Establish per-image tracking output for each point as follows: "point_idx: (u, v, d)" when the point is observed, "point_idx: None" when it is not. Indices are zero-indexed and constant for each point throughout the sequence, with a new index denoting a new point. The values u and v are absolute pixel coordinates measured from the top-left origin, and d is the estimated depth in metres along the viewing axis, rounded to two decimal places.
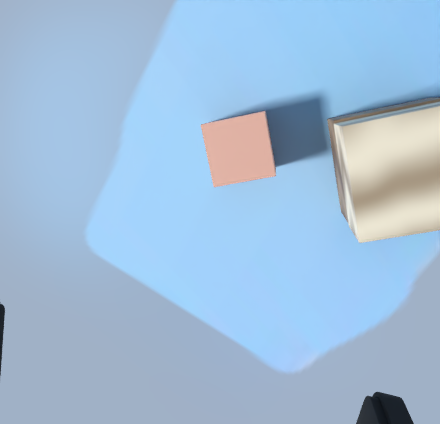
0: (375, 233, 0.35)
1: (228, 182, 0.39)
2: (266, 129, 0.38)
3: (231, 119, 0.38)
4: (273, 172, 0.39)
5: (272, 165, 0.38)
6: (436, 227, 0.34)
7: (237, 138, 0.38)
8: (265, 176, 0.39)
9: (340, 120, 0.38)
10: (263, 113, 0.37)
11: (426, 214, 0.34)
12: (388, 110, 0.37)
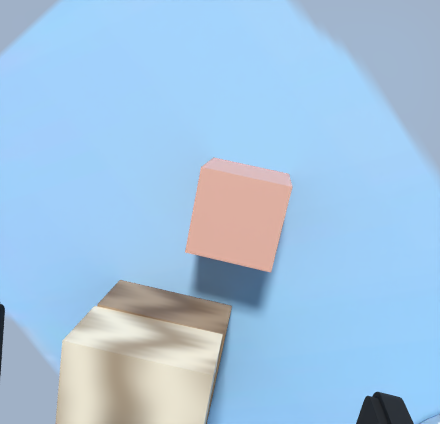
0: (69, 361, 0.27)
1: (199, 189, 0.27)
2: (247, 265, 0.28)
3: (280, 229, 0.27)
4: (190, 251, 0.28)
5: (199, 253, 0.28)
6: (59, 421, 0.28)
7: (251, 226, 0.27)
8: (189, 239, 0.28)
9: (222, 341, 0.31)
10: (269, 270, 0.28)
11: (77, 417, 0.28)
12: (212, 388, 0.32)
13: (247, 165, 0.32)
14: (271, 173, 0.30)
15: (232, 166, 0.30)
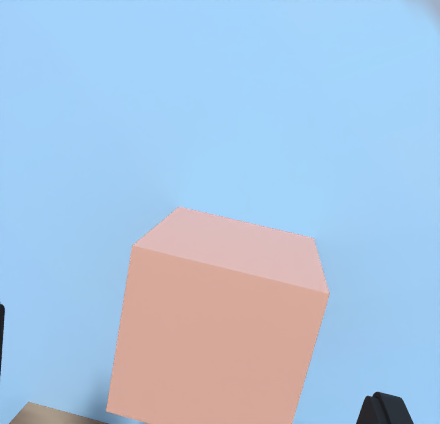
0: None
1: (130, 291, 0.13)
2: None
3: (301, 378, 0.13)
4: (116, 410, 0.14)
5: (135, 416, 0.14)
6: None
7: (241, 369, 0.13)
8: (113, 388, 0.14)
9: None
10: None
11: None
12: None
13: (238, 222, 0.17)
14: (282, 243, 0.16)
15: (207, 231, 0.15)
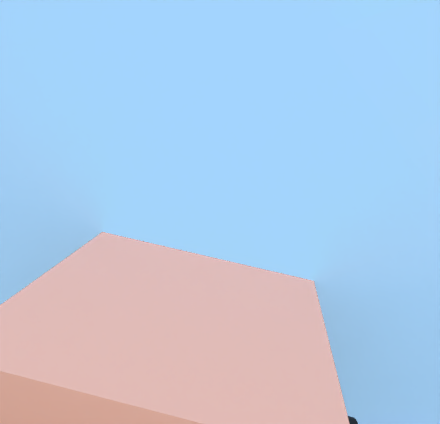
0: None
1: None
2: None
3: None
4: None
5: None
6: None
7: None
8: None
9: None
10: None
11: None
12: None
13: (193, 259, 0.11)
14: (262, 302, 0.09)
15: (130, 286, 0.09)
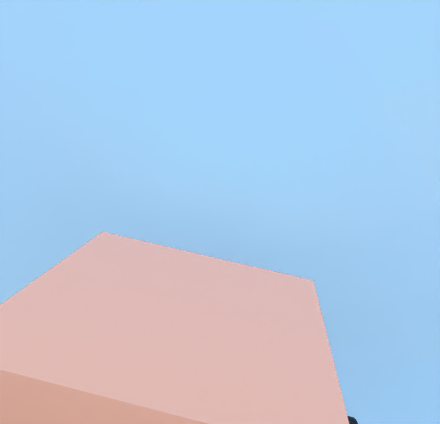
0: None
1: None
2: None
3: None
4: None
5: None
6: None
7: None
8: None
9: None
10: None
11: None
12: None
13: (193, 259, 0.11)
14: (262, 301, 0.09)
15: (130, 286, 0.09)
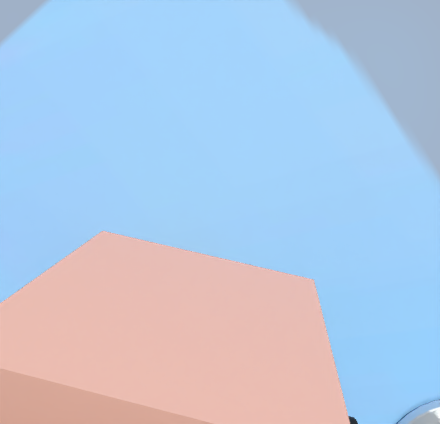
0: None
1: None
2: None
3: None
4: None
5: None
6: None
7: None
8: None
9: None
10: None
11: None
12: None
13: (193, 258, 0.11)
14: (262, 300, 0.09)
15: (130, 285, 0.09)
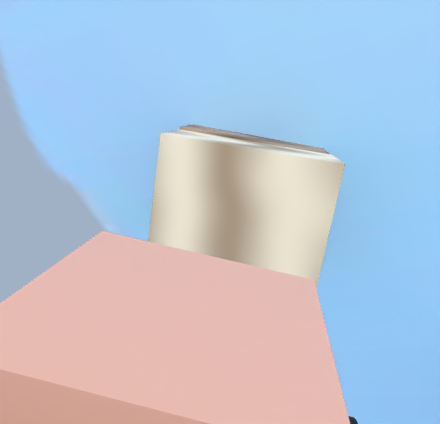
0: (168, 161, 0.23)
1: None
2: None
3: None
4: None
5: None
6: (152, 241, 0.24)
7: None
8: None
9: None
10: None
11: (175, 234, 0.24)
12: None
13: (193, 258, 0.11)
14: (262, 300, 0.09)
15: (129, 285, 0.09)
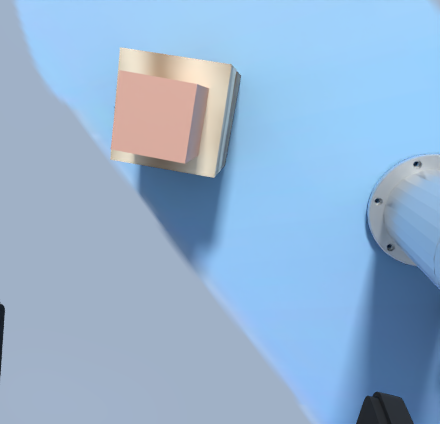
0: (125, 65, 0.37)
1: (119, 90, 0.31)
2: (164, 158, 0.32)
3: (189, 123, 0.31)
4: (115, 148, 0.32)
5: (123, 149, 0.32)
6: None
7: (165, 122, 0.31)
8: (113, 137, 0.32)
9: (235, 77, 0.40)
10: (183, 161, 0.32)
11: None
12: None
13: None
14: None
15: None
